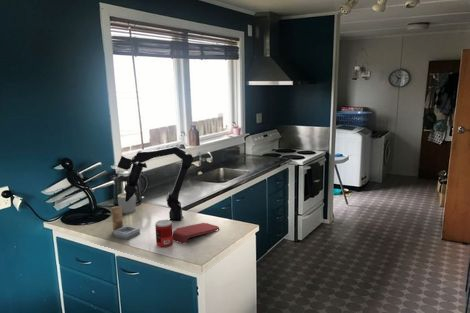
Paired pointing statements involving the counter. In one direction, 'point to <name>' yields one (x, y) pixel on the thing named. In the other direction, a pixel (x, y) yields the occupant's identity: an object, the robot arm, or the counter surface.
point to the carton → (192, 231)
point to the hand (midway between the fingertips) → (127, 199)
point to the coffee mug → (127, 203)
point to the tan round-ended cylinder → (117, 217)
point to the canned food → (164, 233)
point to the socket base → (126, 232)
